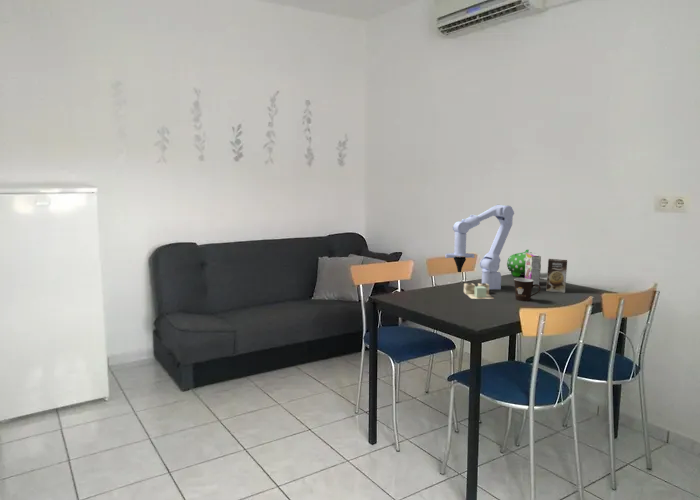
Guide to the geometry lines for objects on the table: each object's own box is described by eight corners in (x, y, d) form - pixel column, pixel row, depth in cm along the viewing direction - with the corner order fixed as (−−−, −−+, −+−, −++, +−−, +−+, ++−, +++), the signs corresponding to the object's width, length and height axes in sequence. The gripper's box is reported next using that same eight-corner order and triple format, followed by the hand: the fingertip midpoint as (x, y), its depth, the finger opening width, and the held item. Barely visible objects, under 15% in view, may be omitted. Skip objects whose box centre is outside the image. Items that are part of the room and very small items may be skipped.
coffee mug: (509, 299, 250) (510, 278, 249) (523, 297, 253) (524, 277, 252) (526, 305, 239) (527, 283, 238) (541, 303, 243) (542, 282, 241)
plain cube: (483, 295, 256) (483, 286, 255) (486, 297, 251) (486, 288, 251) (474, 295, 256) (474, 286, 255) (476, 297, 251) (477, 288, 251)
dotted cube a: (486, 292, 263) (486, 282, 262) (489, 294, 259) (489, 284, 258) (477, 292, 263) (477, 282, 262) (480, 294, 258) (480, 284, 258)
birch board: (485, 292, 264) (485, 291, 264) (494, 299, 249) (494, 298, 249) (463, 292, 264) (463, 291, 264) (471, 299, 249) (471, 298, 249)
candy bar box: (523, 281, 291) (525, 252, 289) (532, 282, 291) (534, 252, 289) (530, 286, 280) (532, 255, 278) (539, 286, 280) (541, 255, 278)
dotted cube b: (472, 292, 263) (472, 282, 262) (474, 294, 258) (475, 284, 258) (463, 292, 263) (463, 282, 262) (465, 294, 258) (466, 284, 257)
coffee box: (546, 291, 268) (547, 260, 265) (546, 288, 274) (548, 258, 271) (565, 293, 264) (567, 261, 262) (565, 290, 270) (567, 259, 268)
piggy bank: (540, 278, 300) (542, 252, 298) (507, 277, 303) (509, 252, 301) (536, 274, 314) (537, 249, 312) (505, 273, 317) (506, 248, 315)
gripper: (447, 246, 261) (447, 273, 263) (476, 246, 262) (475, 273, 264) (444, 244, 268) (443, 270, 270) (472, 244, 269) (471, 270, 271)
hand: (459, 271), depth 267 cm, fingers closed
